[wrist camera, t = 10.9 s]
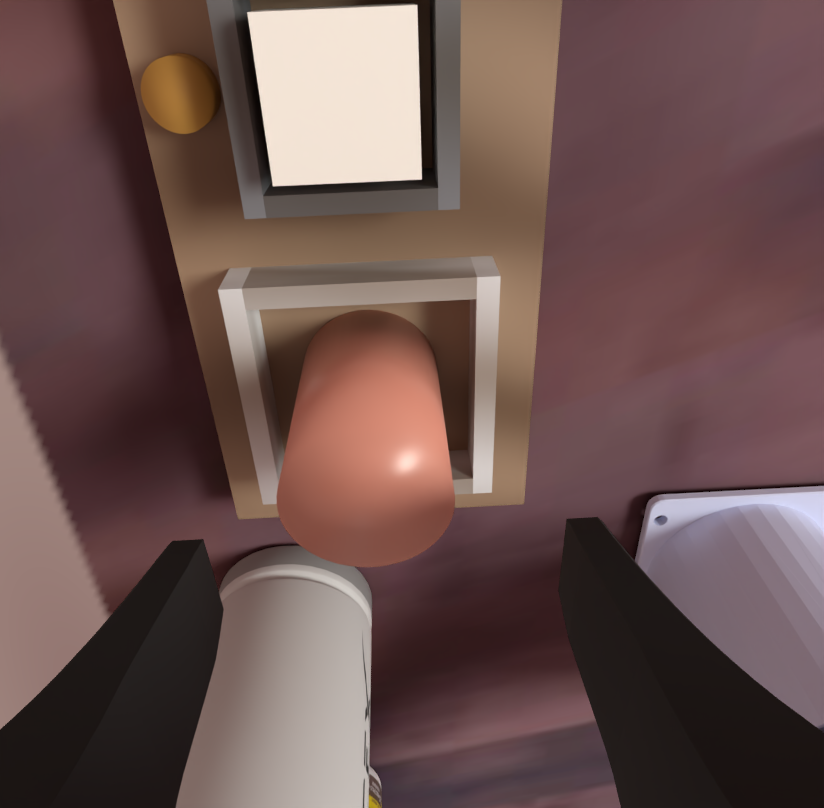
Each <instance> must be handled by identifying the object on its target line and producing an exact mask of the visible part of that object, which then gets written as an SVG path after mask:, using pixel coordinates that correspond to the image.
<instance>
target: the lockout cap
mask: <svg viewBox="0 0 824 808" xmlns="http://www.w3.org/2000/svg"><path fill="white" fill-rule="evenodd" d="M276 499H277V509H278V514H279V517H280V519H281V522H282V524H283V526H284V527H285V529H286V531H287V532H288V533H289V535H290V536H291V537H292V538H293V539H294V540H295V541H296V542H297V543H298V544H299V545H300V546H302V547H303V548H304V549H306V550H307V551H309V552H311V553H312V554H314V555H316V556H318V557H320V558H322V559H325V560H327V561H331V562H334V563H337V564H342V565H346V566H354V567H379V566H386V565H391V564H395V563H399V562H402V561H405V560H407V559H410V558H412V557H414V556H416V555H418V554H420V553H422V552H423V551H425V550H426V549H428V548H429V547H430V546H432V545H433V544H434V543H435V542H436V541H437V540H438V539H439V538H440V537H441V536H442V534H443V533H444V532H445V530H446V529H447V527H448V525H449V523H450V522H451V519H452V516H453V513H454V507H455V493H454V486H453V479H452V471H451V464H450V457H449V450H448V443H447V436H446V428H445V421H444V414H443V407H442V400H441V393H440V385H439V378H438V371H437V364H436V358H435V354H434V351H433V348H432V346H431V344H430V342H429V341H428V339H427V338H426V336H425V335H424V334H423V333H422V332H421V330H420V329H419V328H417V327H416V326H415V325H414V324H412V323H411V322H409V321H408V320H406V319H404V318H402V317H400V316H398V315H395V314H392V313H389V312H385V311H379V310H360V311H354V312H350V313H347V314H343V315H341V316H339V317H337V318H335V319H333V320H331V321H330V322H328V323H327V324H325V325H324V326H323V327H322V328H321V329H320V330H319V331H318V332H317V333H316V334H315V336H314V337H313V338H312V340H311V342H310V344H309V346H308V348H307V351H306V354H305V358H304V363H303V368H302V373H301V378H300V382H299V387H298V392H297V397H296V402H295V407H294V411H293V416H292V421H291V426H290V431H289V436H288V441H287V445H286V450H285V455H284V460H283V465H282V470H281V474H280V479H279V484H278V489H277V496H276Z"/></svg>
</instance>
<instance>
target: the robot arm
mask: <svg viewBox="0 0 824 808" xmlns="http://www.w3.org/2000/svg"><path fill="white" fill-rule="evenodd" d="M661 515H663V516H661ZM658 516H661V517H660V518H656V517H658ZM655 518H656V519H655ZM558 591H559V595H560V600H561V605H562V610H563V615H564V620H565V624H566V629H567V633H568V638H569V641H570V644H571V647H572V650H573V653H574V656H575V659H576V662H577V665H578V668H579V671H580V674H581V677H582V680H583V683H584V686H585V689H586V692H587V695H588V698H589V701H590V704H591V707H592V710H593V713H594V716H595V719H596V722H597V724H598V727H599V730H600V733H601V736H602V739H603V742H604V745H605V748H606V752H607V755H608V758H609V762H610V765H611V768H612V772H613V776H614V780H615V784H616V788H617V792H618V797H619V801H620V805H621V808H824V486H811V487H792V488H773V489H754V490H735V491H717V492H698V493H679V494H661V495H656V496H654V497H653V498H651V499H650V500H649V501H648V503H647V506H646V510H645V515H644V520H643V525H642V529H641V534H640V539H639V543H638V548H637V553H636V558H635V561H634V559H633V558H632V557H631V556H630V555H629V554H628V552H627V551H626V550H625V549H624V548H623V546H622V545H621V544H620V543H619V542H618V540H617V539H616V538H615V537H614V535H613V534H612V533H611V532H610V531H609V529H608V528H607V527H606V526H605V524H604V523H603V522H602V521H601V520H600V519H599V518H598V517H592V518H575V519H567V521H566V530H565V538H564V547H563V555H562V564H561V573H560V581H559V590H558ZM223 611H224V608H223V605H222V601H221V598H220V595H219V591H218V588H217V584H216V581H215V578H214V574H213V571H212V567H211V564H210V561H209V557H208V554H207V550H206V547H205V544H204V540H203V539H200V540H182V541H172V542H171V543H170V544H169V545H168V546H167V548H166V549H165V550H164V551H163V553H162V554H161V555H160V556H159V557H158V559H157V560H156V561H155V562H154V564H153V565H152V566H151V567H150V569H149V570H148V571H147V573H146V574H145V575H144V576H143V577H142V579H141V580H140V581H139V582H138V584H137V585H136V586H135V587H134V589H133V590H132V591H131V592H130V594H129V595H128V596H127V597H126V598H125V600H124V601H123V602H122V603H121V604H120V606H119V607H118V608H117V609H116V610H115V611H114V613H113V614H112V615H111V616H110V617H109V618H108V620H107V621H106V622H105V623H104V624H103V626H102V627H101V628H100V629H99V630H98V631H97V632H96V634H95V635H94V636H93V637H92V638H91V639H90V640H89V642H87V644H86V645H85V646H84V647H83V648H82V649H81V650H80V651H79V652H78V653H77V654H76V656H75V657H74V658H73V659H72V660H71V661H70V662H69V663H68V664H67V665H66V666H65V667H64V669H63V670H62V671H61V672H60V673H59V674H58V675H57V676H56V677H55V678H54V679H53V680H52V681H51V682H50V683H49V684H48V685H47V686H46V687H45V688H44V689H43V690H42V691H41V692H40V693H39V694H38V695H37V696H36V697H35V698H34V699H33V700H32V701H31V702H30V703H29V704H28V705H26V706H25V707H24V708H23V709H22V710H21V711H20V712H19V713H18V714H17V715H16V716H15V717H14V718H13V719H12V720H10V721H9V722H8V723H7V724H6V725H5V726H4V727H3V728H2V729H1V730H0V808H176V804H177V799H178V794H179V790H180V786H181V782H182V778H183V774H184V770H185V767H186V763H187V760H188V756H189V753H190V749H191V746H192V742H193V739H194V735H195V732H196V729H197V725H198V722H199V718H200V715H201V711H202V708H203V704H204V701H205V697H206V694H207V690H208V686H209V683H210V679H211V676H212V672H213V669H214V665H215V661H216V656H217V650H218V644H219V639H220V632H221V625H222V618H223Z"/></svg>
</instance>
